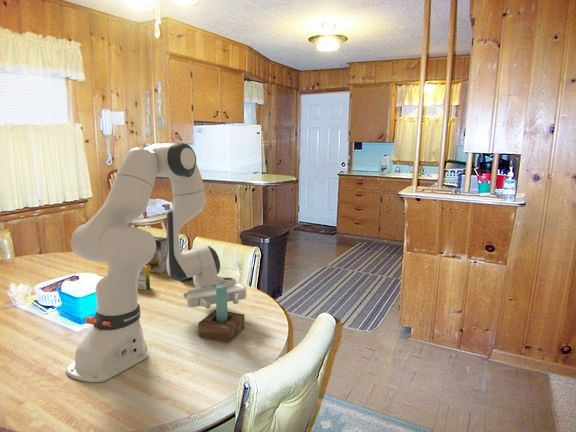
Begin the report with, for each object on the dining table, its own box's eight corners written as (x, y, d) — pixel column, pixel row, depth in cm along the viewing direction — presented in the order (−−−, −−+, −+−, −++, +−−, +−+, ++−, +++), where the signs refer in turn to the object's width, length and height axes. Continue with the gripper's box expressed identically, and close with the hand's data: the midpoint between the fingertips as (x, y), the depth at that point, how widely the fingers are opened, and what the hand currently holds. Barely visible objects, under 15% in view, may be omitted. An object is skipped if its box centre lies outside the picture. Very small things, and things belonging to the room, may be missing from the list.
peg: (224, 335, 131) (223, 289, 127) (214, 333, 132) (213, 288, 129) (229, 330, 134) (228, 285, 131) (220, 329, 135) (219, 284, 132)
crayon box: (150, 287, 171) (149, 261, 169) (146, 290, 168) (144, 263, 166) (135, 285, 173) (134, 260, 171) (131, 288, 170) (129, 262, 168)
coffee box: (145, 271, 191) (143, 239, 188) (153, 267, 197) (151, 235, 194) (161, 273, 188) (159, 240, 185) (169, 269, 194) (167, 237, 191)
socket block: (228, 343, 126) (228, 328, 125) (199, 336, 130) (198, 322, 129) (244, 328, 136) (244, 314, 135) (216, 322, 140) (216, 309, 139)
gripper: (182, 284, 137) (190, 299, 125) (238, 277, 146) (251, 290, 133) (182, 302, 139) (190, 318, 126) (239, 293, 147) (251, 307, 135)
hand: (222, 303), depth 130 cm, fingers open, 8 cm apart
